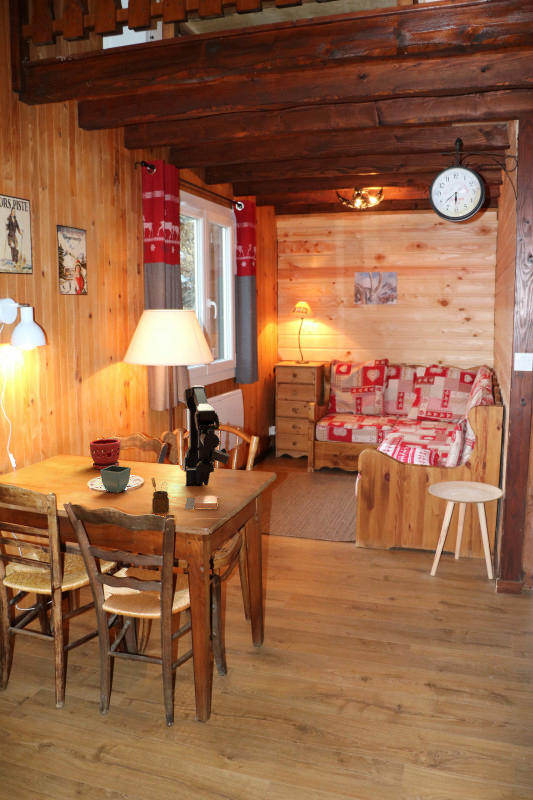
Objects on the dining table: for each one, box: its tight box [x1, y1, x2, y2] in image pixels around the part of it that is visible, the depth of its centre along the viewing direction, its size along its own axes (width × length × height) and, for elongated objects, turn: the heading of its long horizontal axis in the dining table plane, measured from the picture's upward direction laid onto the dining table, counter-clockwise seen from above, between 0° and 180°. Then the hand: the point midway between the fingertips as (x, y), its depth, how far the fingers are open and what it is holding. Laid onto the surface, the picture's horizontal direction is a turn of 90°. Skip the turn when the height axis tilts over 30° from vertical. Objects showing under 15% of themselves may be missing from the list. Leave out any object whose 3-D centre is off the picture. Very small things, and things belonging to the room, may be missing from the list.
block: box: [194, 495, 218, 508], centre depth 244 cm, size 8×2×9 cm
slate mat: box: [184, 497, 196, 511], centre depth 246 cm, size 12×14×1 cm
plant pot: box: [89, 438, 121, 470], centre depth 297 cm, size 13×13×12 cm
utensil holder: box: [151, 477, 170, 514], centre depth 237 cm, size 6×6×12 cm
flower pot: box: [99, 465, 132, 494], centre depth 261 cm, size 9×9×9 cm
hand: (206, 485), depth 244 cm, fingers closed
